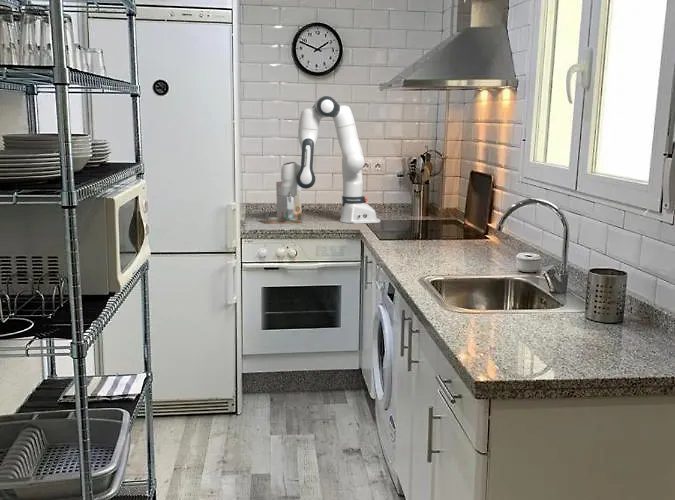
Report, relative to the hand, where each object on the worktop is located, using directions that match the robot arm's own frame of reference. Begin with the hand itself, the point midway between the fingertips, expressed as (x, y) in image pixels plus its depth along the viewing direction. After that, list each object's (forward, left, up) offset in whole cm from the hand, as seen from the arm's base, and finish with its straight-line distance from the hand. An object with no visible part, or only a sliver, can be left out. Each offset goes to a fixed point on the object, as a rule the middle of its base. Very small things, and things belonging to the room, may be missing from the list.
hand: (289, 217), depth 386 cm
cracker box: (-1, -19, -3) cm, 19 cm away
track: (+3, 0, -3) cm, 4 cm away
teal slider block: (0, 0, -1) cm, 1 cm away
